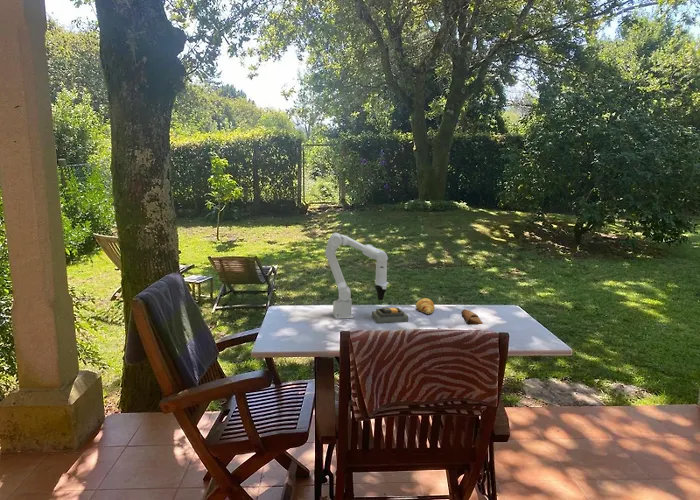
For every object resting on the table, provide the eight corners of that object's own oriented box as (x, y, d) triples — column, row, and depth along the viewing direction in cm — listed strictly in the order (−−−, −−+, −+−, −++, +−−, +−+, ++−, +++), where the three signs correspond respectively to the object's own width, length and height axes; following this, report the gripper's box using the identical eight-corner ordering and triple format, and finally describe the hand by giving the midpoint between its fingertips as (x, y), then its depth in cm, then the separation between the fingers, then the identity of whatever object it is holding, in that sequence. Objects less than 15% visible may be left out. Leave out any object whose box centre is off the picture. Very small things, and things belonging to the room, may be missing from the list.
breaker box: (377, 323, 266) (378, 314, 265) (371, 316, 277) (371, 308, 276) (408, 321, 269) (408, 313, 268) (400, 315, 281) (401, 307, 280)
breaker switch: (384, 312, 269) (385, 309, 269) (382, 310, 274) (382, 307, 274) (397, 313, 271) (398, 310, 271) (394, 310, 276) (395, 308, 276)
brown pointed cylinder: (484, 324, 265) (478, 313, 264) (472, 331, 266) (465, 320, 265) (476, 315, 283) (470, 304, 282) (465, 321, 283) (459, 310, 283)
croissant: (434, 321, 282) (441, 308, 281) (417, 313, 281) (425, 300, 280) (425, 310, 303) (432, 298, 302) (410, 302, 301) (417, 290, 301)
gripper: (392, 276, 268) (391, 303, 270) (384, 271, 282) (384, 296, 284) (379, 277, 266) (378, 303, 268) (372, 271, 280) (371, 296, 282)
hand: (380, 299), depth 276 cm, fingers closed
